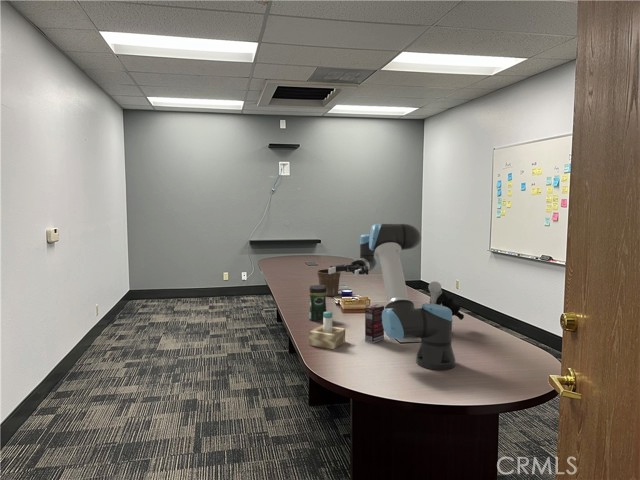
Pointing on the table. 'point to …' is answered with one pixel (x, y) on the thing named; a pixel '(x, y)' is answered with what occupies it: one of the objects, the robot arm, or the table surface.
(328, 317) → the marker
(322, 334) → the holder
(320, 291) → the coffee jar
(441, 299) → the sculpture
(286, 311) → the table surface
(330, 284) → the plant pot
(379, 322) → the supplement box
